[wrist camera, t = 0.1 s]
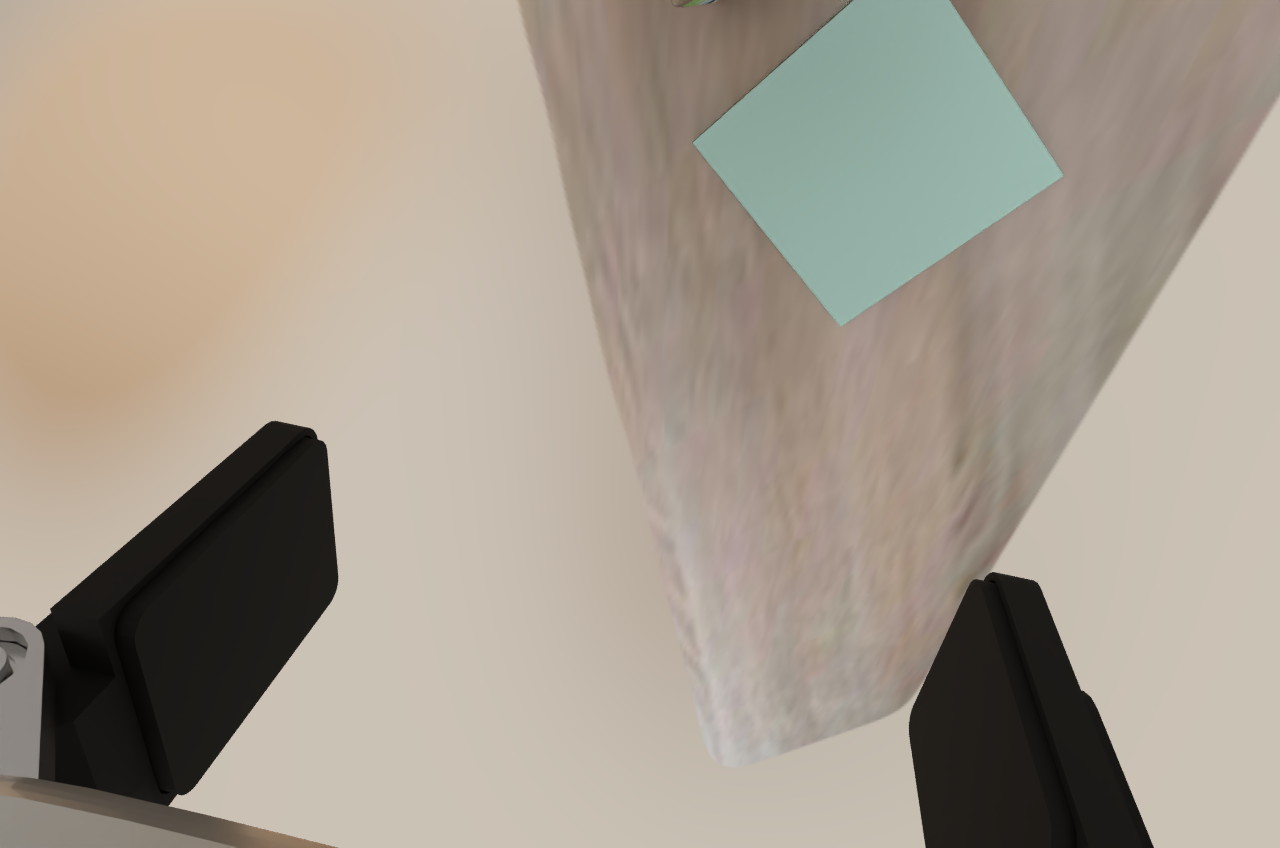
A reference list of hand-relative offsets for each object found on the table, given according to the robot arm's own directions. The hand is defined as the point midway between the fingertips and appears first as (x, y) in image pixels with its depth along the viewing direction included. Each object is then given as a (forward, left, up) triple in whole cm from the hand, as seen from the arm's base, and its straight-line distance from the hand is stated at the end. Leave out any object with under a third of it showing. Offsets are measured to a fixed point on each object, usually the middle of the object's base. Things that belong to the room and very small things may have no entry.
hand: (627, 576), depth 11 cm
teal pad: (-4, +4, -31) cm, 32 cm away
